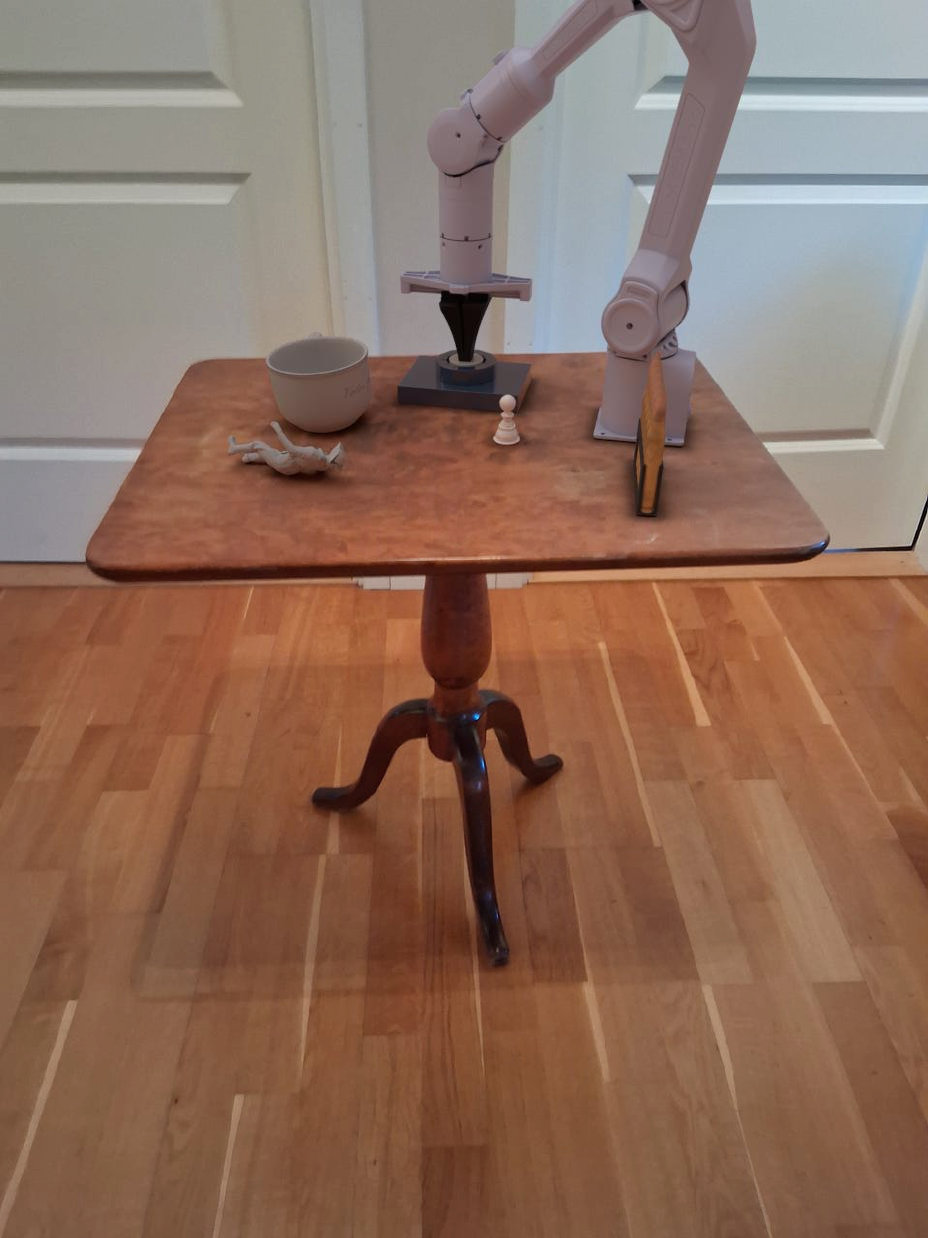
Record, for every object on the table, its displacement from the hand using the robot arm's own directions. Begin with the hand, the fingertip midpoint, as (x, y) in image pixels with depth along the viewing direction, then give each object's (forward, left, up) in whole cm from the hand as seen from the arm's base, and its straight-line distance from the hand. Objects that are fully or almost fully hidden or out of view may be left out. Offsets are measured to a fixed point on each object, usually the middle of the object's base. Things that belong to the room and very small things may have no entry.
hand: (466, 358), depth 104 cm
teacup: (+14, +10, -4) cm, 18 cm away
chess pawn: (-7, +12, -4) cm, 15 cm away
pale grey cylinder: (0, 0, -2) cm, 2 cm away
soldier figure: (+13, +24, -4) cm, 27 cm away
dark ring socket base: (0, 0, -4) cm, 4 cm away
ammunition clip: (-22, +20, -4) cm, 30 cm away
